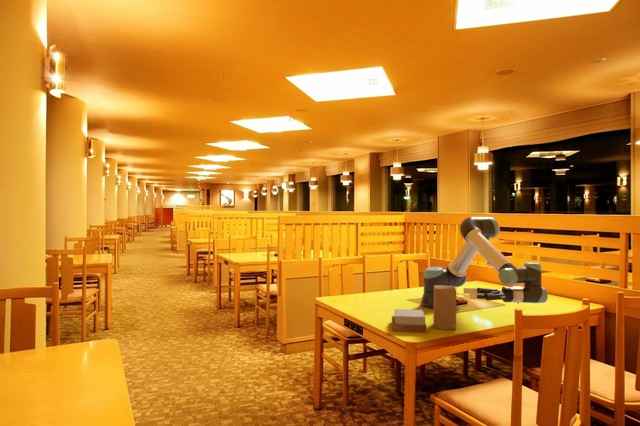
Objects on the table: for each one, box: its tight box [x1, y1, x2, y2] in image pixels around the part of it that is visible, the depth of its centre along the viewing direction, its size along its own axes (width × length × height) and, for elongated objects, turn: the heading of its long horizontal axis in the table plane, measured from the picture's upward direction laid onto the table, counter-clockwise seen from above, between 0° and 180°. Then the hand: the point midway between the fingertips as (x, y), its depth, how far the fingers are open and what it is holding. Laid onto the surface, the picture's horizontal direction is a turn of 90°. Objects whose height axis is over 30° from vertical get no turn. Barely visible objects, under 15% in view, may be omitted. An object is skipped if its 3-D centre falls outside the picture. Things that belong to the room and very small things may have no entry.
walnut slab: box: [391, 315, 428, 334], centre depth 202 cm, size 16×16×4 cm
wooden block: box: [433, 285, 457, 331], centre depth 203 cm, size 10×10×20 cm
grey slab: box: [394, 308, 426, 325], centre depth 202 cm, size 14×14×4 cm
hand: (466, 293), depth 201 cm, fingers open, 13 cm apart
